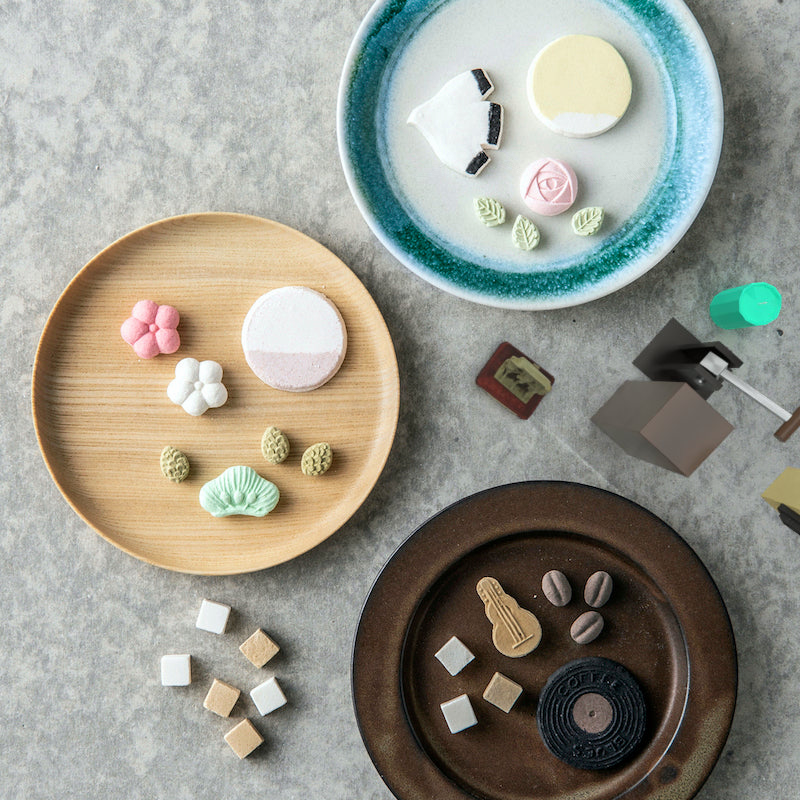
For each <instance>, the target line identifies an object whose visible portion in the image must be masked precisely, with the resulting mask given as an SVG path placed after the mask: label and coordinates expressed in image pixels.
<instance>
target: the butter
mask: <svg viewBox="0 0 800 800" xmlns="http://www.w3.org/2000/svg"><path fill="white" fill-rule="evenodd" d="M760 498H762V499H763V500H764V501H765V502H766V503H767V504H768V505H770V507H772V508H773V509H774V510H775V512H777V513H778V515H780V513H779V511H778V509H777V508H778V507H779V506H780V505H781V504H782V503H783V504H785V505H786V506H787V507H789V508H790V509H792V510H793V511H795V512H796V513H798V514H799V515H800V468H797V467H793V466H787V467H786V468H785V469H784V470H783V471H782V472H781V473H780V474H779V475H778V476H777V477H776V479H775V480H773V481H772V483H771V484H769V486H768V487H767V488H766V489H765V490H764V491H763V492H762V493H760Z"/></svg>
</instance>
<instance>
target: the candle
mask: <svg viewBox="0 0 800 800" xmlns="http://www.w3.org/2000/svg"><path fill="white" fill-rule="evenodd" d="M782 299H783V296H782V294H781V293H780V292H779V290H778V289H777V287H776V286H774V285H772V284H770V283H769V282H765V281H760V282H758V281H757V282H751V283H747V284H743V285H740V286H735V287H731V288H728V289H724V290H721V291H720V292H719V293H717V294H716V295H714V296H713V298H712V300H711V302H710V303H709V317H710V319H711V320H712V322H713V323H714V324H715V326H717V327H718V328H720V329H723V330H725V331H727V330H737V329H745V328H746V329H747V328H753V327H760V326H767V325H768V324H770V323H772V322H773V321H775V320H776V319H778V316H779V315H780V312H781V309H782Z"/></svg>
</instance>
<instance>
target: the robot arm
mask: <svg viewBox="0 0 800 800" xmlns="http://www.w3.org/2000/svg"><path fill="white" fill-rule="evenodd" d="M777 509H778V511H779V513H780V514H779V513H778V517H779V519H780V521H781V522H782V524H783V525H784V526H786V527H787V528H789V529H790V530H791V531H792V532H794V533H795V534H796V535H798V536H800V515H799V514H798V513H796V512H795V511H793V510H792V509H790V508H789V507H787V506H786V505H785V504H783V503H782V504H781V505H780V506H779V507H778V508H777Z"/></svg>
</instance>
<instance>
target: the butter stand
mask: <svg viewBox="0 0 800 800" xmlns="http://www.w3.org/2000/svg"><path fill="white" fill-rule="evenodd" d="M590 421H591V422H592V423H593V424H594V425H595V426H597V428H599V429H600V430H601V432H603V433H604V434H605V435H606V436H607V437H608V438H609V439H610V440H612V441H613V442H614V444H616V445H617V446H618V447H619V448H621V450H622V451H624V453H625V454H627V455H628V456H630V457H632V458H635V459H638V460H640V461H642V462H643V461H644V462H646V463H648V464H651V465H654V466H656V467H659V468H662V469H664V470H666V471H669V472H672V473H674V474H678V475H680V476H683V477H686V478H690V477H691V475H692V474H694V472H695V471H696V470H698V468H699V467H700V466H701V465H702V464H703V463H704V462H705V461H706V460H707V458H709V457H710V455H711V454H713V452H714V451H715V450H716V449H717V448H718V447H719V446H720V445H721V444H722V443H723V441H725V439H727V438H728V436H729V435H731V433H732V432H733V431H734V430H735V429H736V428H735V426H734V425H732V424H731V422H729V420H727V419H726V418H725V417H724V416H723V415H722V414H721V413H719V411H717V409H715V408H714V407H713V406H712V405H711V404H710V403H709V402H708V401H707V400H706V401H705V400H704V399H703V398H702V397H701V396H700V395H699V394H698V393H697V392H696V391H695V390H693V389H692V388H691V387H690V386H689V385H688V384H687V383H686V382H662V381H652V380H631V379H626V380H624V382H623V383H622V384H621V385H620V386H619V387H618V388H617V389H616V391H615V392H614V393H613V394H612V395H611V396H610V397H609V398H608V399H607V400H606V401H605V402H604V404H602V405H601V407H600V408H599V409H598V410H597V411H596V412H595V413H594V414H593V415H592V416H591V417H590Z"/></svg>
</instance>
